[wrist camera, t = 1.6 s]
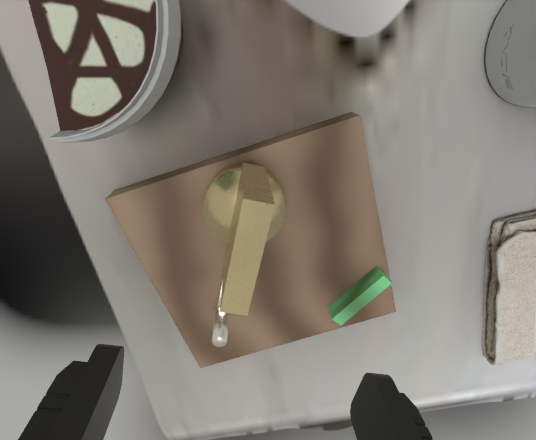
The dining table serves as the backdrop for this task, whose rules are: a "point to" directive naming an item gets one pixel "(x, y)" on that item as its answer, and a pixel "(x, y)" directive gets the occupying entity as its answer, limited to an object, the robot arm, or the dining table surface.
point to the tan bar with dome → (241, 233)
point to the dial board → (268, 243)
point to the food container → (106, 60)
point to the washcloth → (510, 289)
